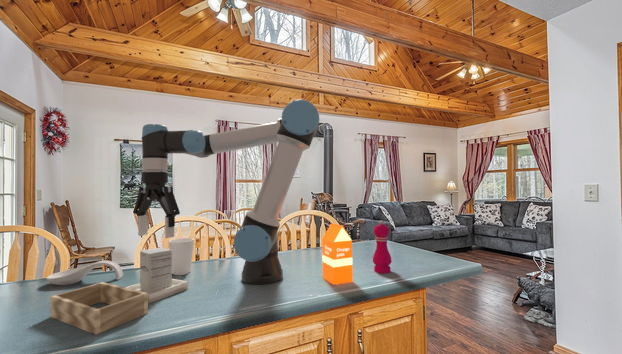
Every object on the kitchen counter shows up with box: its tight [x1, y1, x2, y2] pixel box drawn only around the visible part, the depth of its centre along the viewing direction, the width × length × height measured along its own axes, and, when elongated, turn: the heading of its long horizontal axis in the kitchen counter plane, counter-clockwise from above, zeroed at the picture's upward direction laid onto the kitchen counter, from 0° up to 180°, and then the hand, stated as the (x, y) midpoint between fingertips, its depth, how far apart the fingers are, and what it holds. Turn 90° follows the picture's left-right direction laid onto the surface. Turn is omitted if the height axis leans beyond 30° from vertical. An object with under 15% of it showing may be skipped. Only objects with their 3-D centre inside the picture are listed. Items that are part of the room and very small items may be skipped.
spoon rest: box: [45, 259, 124, 286], centre depth 112 cm, size 24×12×7 cm, turn 104°
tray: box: [125, 278, 189, 305], centre depth 98 cm, size 14×14×2 cm
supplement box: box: [139, 246, 173, 294], centre depth 98 cm, size 7×7×13 cm
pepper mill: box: [372, 220, 393, 274], centre depth 118 cm, size 7×7×20 cm
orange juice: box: [321, 222, 354, 286], centre depth 109 cm, size 8×9×20 cm
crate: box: [49, 281, 149, 335], centre depth 82 cm, size 22×13×6 cm, turn 62°
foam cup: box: [168, 237, 195, 276], centre depth 120 cm, size 10×9×13 cm
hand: (155, 236), depth 99 cm, fingers open, 13 cm apart
